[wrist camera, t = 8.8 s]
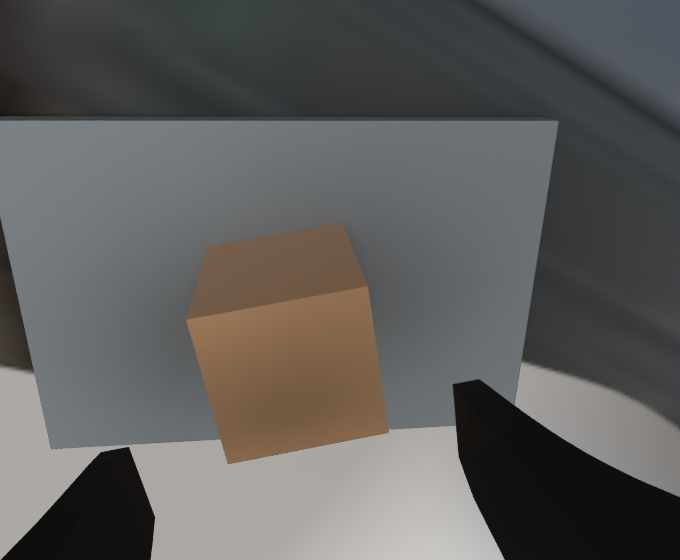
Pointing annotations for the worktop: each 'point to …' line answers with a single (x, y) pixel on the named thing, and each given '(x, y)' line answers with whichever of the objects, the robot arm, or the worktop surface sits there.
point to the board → (257, 221)
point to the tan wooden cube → (287, 343)
